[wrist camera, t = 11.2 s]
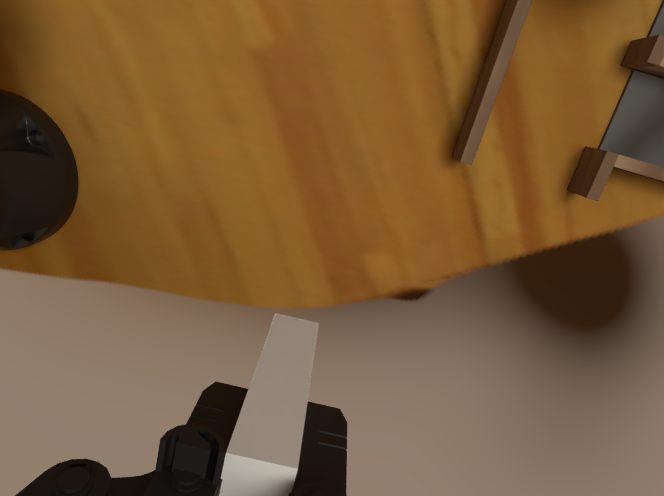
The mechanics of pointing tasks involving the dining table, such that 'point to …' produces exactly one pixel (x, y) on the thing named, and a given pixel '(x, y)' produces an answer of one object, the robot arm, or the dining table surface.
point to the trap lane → (626, 123)
